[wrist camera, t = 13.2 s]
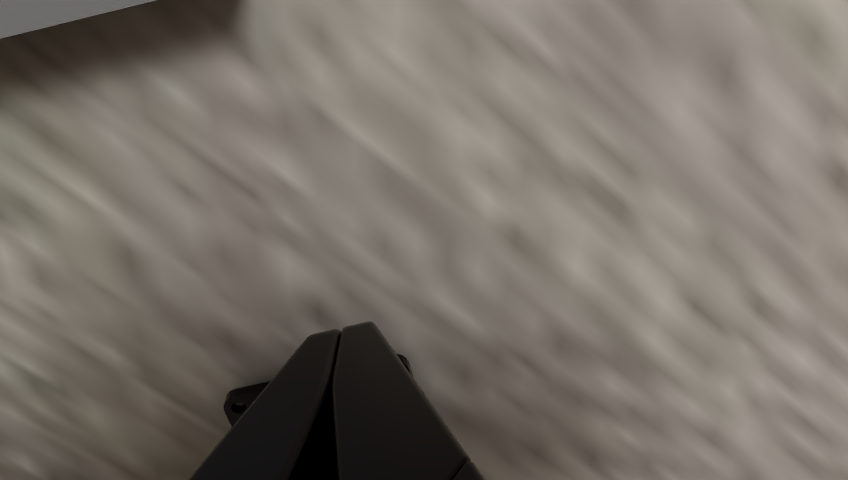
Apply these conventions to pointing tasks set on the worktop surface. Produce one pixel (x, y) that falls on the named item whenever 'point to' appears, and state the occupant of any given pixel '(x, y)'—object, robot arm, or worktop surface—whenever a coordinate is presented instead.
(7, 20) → the switch panel
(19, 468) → the worktop surface
